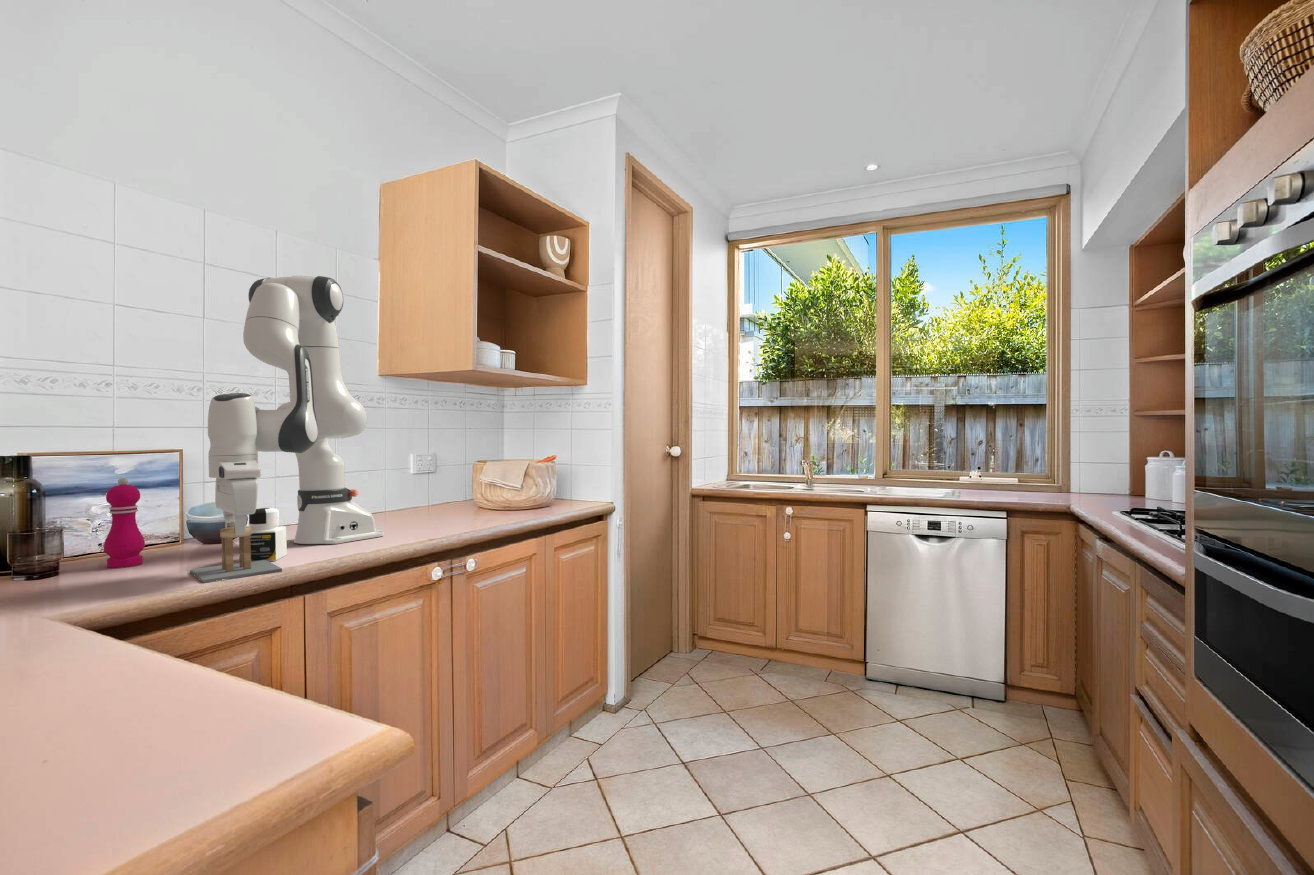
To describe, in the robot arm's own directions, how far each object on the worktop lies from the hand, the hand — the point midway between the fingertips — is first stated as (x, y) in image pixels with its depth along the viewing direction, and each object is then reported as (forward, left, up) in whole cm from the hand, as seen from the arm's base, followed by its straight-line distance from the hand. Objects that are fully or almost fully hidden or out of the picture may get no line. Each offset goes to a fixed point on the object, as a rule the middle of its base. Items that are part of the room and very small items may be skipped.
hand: (235, 532), depth 135 cm
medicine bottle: (-8, -11, -9) cm, 16 cm away
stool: (0, 0, -8) cm, 8 cm away
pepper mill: (+16, -28, -9) cm, 33 cm away
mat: (0, 0, -8) cm, 9 cm away
